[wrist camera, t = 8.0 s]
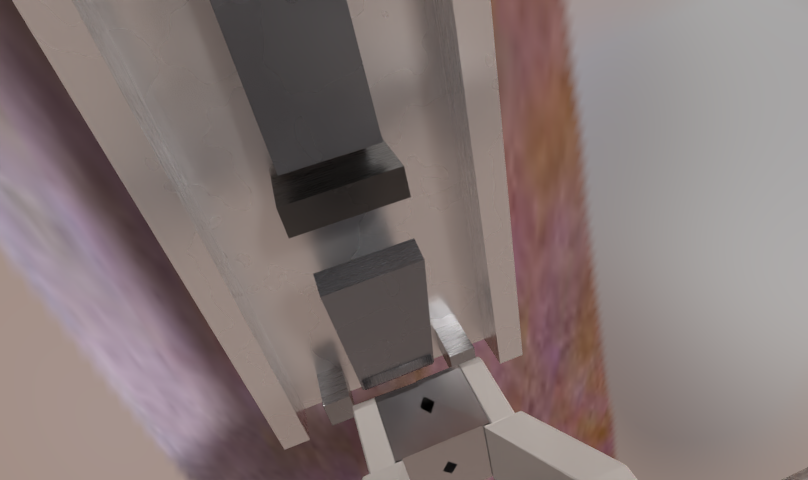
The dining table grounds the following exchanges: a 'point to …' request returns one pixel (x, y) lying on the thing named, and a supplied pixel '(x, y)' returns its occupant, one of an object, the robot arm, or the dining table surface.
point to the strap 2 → (380, 312)
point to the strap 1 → (301, 77)
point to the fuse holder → (302, 181)
